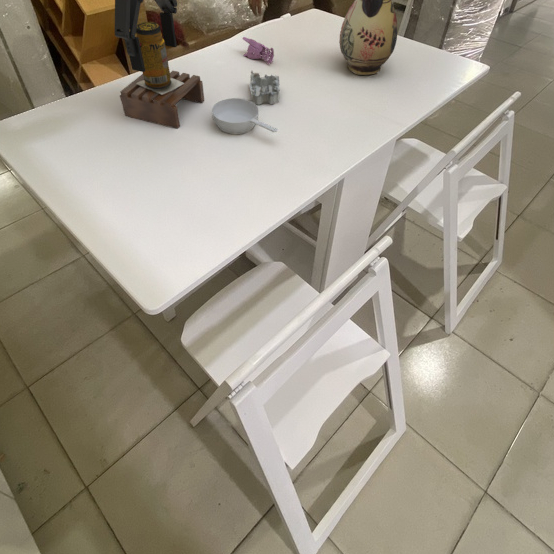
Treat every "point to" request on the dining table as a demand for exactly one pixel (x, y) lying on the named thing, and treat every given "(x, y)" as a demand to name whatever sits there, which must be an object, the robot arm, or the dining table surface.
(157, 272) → the dining table surface
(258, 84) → the egg carton
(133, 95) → the rack
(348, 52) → the ceramic jug
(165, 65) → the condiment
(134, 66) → the robot arm
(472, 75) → the dining table surface
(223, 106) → the saucepan
